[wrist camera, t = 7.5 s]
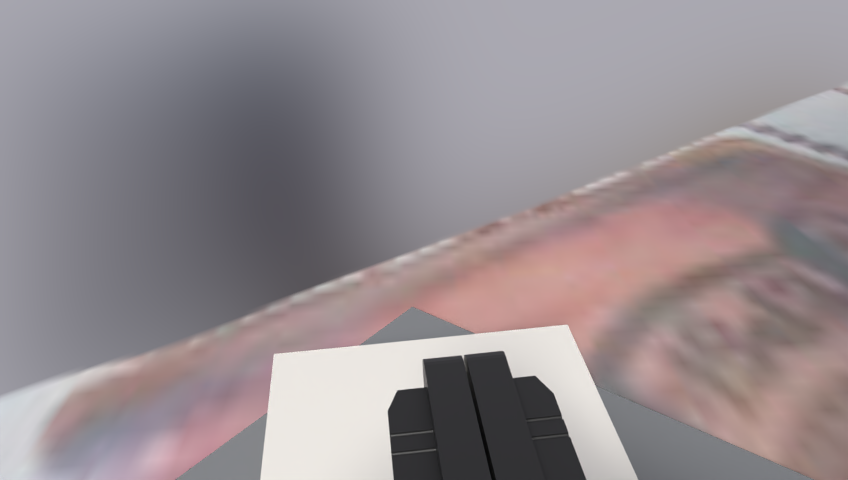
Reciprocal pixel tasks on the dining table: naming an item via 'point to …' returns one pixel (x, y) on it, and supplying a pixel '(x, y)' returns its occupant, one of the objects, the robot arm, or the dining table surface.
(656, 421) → the mat
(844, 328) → the dining table surface
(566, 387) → the tile
